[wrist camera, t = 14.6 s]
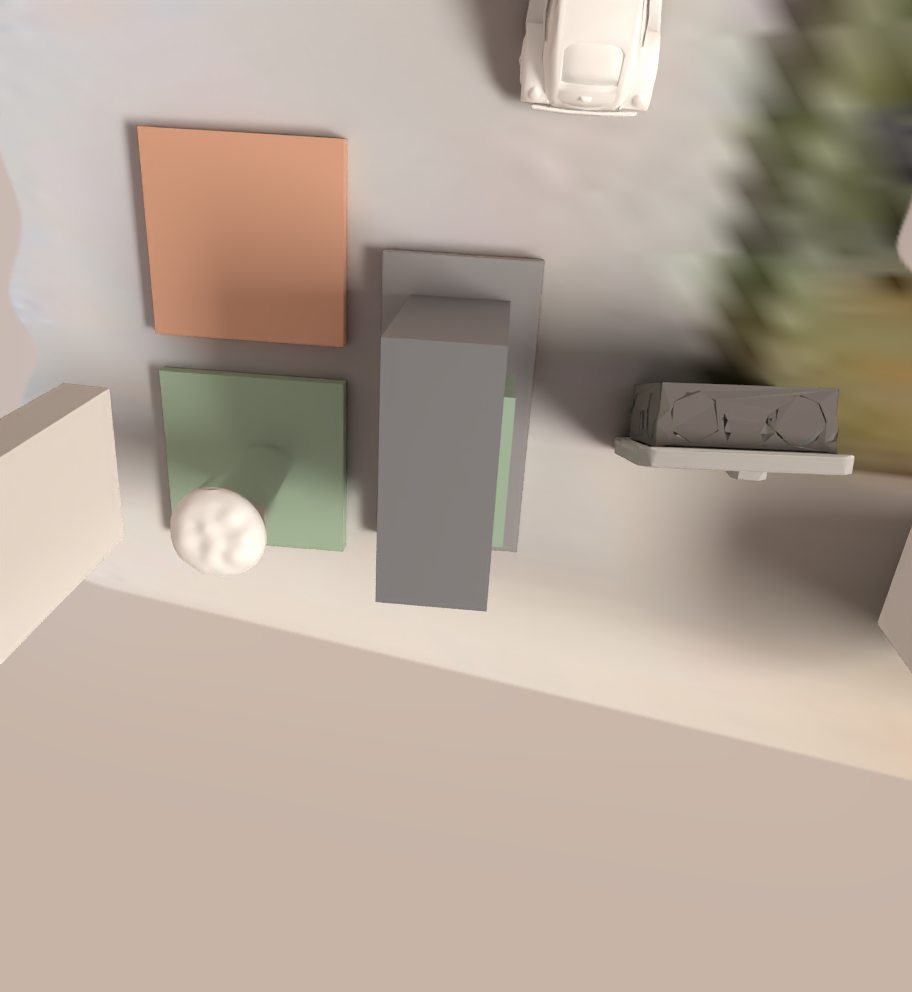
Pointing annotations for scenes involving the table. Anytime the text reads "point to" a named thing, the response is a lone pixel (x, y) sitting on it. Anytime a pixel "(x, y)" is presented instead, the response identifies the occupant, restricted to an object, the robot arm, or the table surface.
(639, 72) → the car
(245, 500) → the milkshake
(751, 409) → the electrical switch
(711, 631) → the table surface
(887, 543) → the table surface
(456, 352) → the block
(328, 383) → the pad sage
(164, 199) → the pad terracotta
